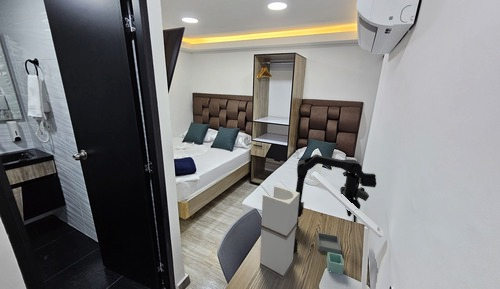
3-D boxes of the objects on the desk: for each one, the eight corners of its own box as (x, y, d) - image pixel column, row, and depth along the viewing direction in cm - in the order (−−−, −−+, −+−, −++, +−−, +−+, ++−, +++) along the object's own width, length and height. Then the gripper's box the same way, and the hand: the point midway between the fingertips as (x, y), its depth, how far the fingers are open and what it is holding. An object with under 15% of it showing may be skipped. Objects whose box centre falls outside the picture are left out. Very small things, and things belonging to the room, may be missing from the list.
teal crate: (327, 271, 88) (329, 262, 87) (326, 261, 93) (327, 252, 92) (342, 274, 86) (344, 265, 85) (340, 263, 92) (341, 254, 91)
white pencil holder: (293, 262, 92) (299, 192, 83) (283, 279, 83) (289, 203, 75) (271, 251, 98) (275, 185, 89) (259, 266, 89) (262, 194, 81)
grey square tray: (318, 250, 100) (318, 245, 99) (316, 236, 110) (317, 232, 109) (340, 255, 97) (341, 250, 97) (337, 240, 107) (337, 235, 106)
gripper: (374, 195, 93) (369, 224, 97) (363, 179, 111) (359, 204, 115) (348, 191, 96) (344, 220, 100) (341, 176, 114) (338, 201, 117)
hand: (347, 211), depth 108 cm, fingers open, 9 cm apart
